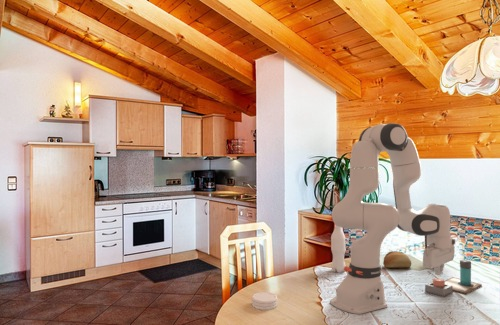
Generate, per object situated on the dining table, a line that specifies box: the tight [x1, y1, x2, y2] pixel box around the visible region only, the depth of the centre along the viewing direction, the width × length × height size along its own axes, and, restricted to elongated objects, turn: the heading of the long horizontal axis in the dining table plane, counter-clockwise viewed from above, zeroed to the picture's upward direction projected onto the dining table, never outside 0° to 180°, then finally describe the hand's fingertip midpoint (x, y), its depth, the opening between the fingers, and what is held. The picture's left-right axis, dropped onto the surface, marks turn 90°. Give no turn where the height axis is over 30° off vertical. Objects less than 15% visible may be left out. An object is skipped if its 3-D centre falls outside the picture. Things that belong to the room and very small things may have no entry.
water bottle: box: [330, 223, 347, 274], centre depth 175 cm, size 7×7×25 cm
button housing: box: [424, 280, 454, 298], centre depth 146 cm, size 8×8×3 cm
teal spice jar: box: [459, 259, 472, 286], centre depth 152 cm, size 4×4×10 cm
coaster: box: [251, 291, 278, 311], centre depth 135 cm, size 10×10×4 cm
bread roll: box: [382, 250, 412, 269], centre depth 181 cm, size 10×15×8 cm, turn 100°
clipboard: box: [444, 276, 483, 295], centre depth 153 cm, size 16×12×1 cm
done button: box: [432, 278, 445, 288], centre depth 146 cm, size 4×4×3 cm
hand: (438, 274), depth 146 cm, fingers closed
